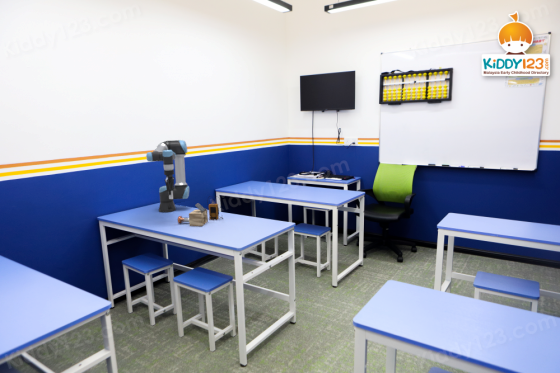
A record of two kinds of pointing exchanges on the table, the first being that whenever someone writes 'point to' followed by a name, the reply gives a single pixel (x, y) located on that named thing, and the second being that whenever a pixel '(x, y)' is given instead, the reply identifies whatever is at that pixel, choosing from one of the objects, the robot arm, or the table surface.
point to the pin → (182, 219)
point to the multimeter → (213, 210)
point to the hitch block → (198, 217)
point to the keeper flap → (200, 207)
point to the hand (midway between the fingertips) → (171, 198)
